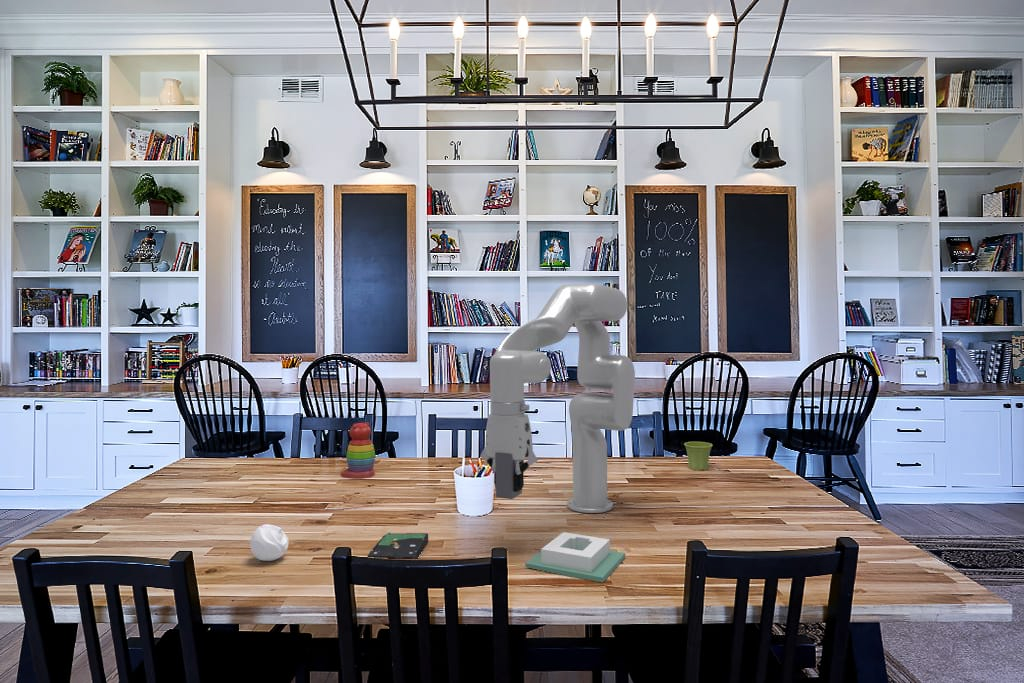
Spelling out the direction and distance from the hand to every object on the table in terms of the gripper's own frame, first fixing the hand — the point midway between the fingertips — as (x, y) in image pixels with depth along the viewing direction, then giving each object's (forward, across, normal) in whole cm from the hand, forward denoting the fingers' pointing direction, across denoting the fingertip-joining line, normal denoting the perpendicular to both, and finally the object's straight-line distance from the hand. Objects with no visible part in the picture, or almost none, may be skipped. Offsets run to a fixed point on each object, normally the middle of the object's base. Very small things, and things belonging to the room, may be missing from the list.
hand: (509, 488), depth 145 cm
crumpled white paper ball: (+13, +44, +29) cm, 54 cm away
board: (+14, -16, +1) cm, 22 cm away
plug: (+2, 0, 0) cm, 2 cm away
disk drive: (+14, +21, +13) cm, 29 cm away
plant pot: (+17, -23, -99) cm, 103 cm away
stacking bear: (+15, +77, -40) cm, 88 cm away
